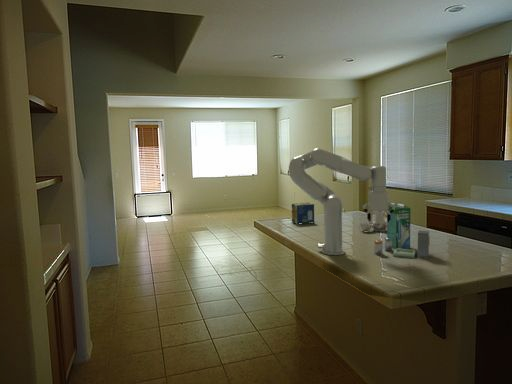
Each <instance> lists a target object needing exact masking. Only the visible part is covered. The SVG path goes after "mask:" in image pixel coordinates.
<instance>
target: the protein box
mask: <svg viewBox="0 0 512 384" xmlns="http://www.w3.org/2000/svg"><path fill="white" fill-rule="evenodd" d="M292 222H294V223H296V224H295V225H297V224H299V223H309V222H314V223H315V204H314V203H311V202H302V203H301V202H298V203H297V202H296V203H291V223H292ZM294 223H293V224H294ZM299 225H300V224H299Z"/></svg>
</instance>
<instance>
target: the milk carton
mask: <svg viewBox="0 0 512 384" xmlns="http://www.w3.org/2000/svg"><path fill="white" fill-rule="evenodd" d="M390 203H391V204H393V205H395V206H396V208H395V210H394V211H393V212H392V213H391V220H389V222H386V223H387V229H386V237H391V238H393V240H392V249H394V250H395V249H396V248H399V249H409V248H411V207H409V206H407V205H406V204H404V203H402V202H401V201H400V202H390ZM389 210H390V211H391V210H392V207H391V206H389ZM387 214H388V213H387V212H386V215H387Z"/></svg>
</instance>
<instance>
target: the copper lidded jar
mask: <svg viewBox="0 0 512 384" xmlns="http://www.w3.org/2000/svg"><path fill="white" fill-rule="evenodd" d="M383 244H384V242H383V240H381V239H375V240H374V255H378V256H379V255H380V256H381V255H383Z"/></svg>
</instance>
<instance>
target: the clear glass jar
mask: <svg viewBox="0 0 512 384" xmlns="http://www.w3.org/2000/svg"><path fill="white" fill-rule="evenodd" d="M392 240H393V238H391V237H387V236H385V237H384V251H386V252H393V247H392Z"/></svg>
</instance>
